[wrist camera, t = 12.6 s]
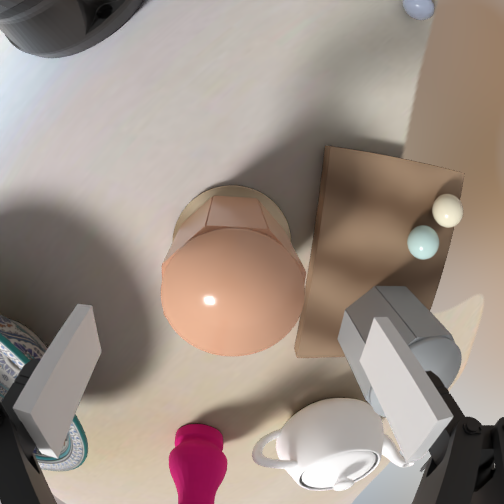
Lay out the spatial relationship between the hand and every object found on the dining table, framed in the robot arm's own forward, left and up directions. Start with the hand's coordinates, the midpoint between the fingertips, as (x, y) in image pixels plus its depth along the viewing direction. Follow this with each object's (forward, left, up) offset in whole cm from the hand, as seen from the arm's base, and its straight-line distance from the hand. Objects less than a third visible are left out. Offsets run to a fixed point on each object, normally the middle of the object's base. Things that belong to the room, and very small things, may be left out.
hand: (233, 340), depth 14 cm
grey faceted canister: (+8, +15, -13) cm, 21 cm away
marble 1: (-23, +15, -14) cm, 31 cm away
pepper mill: (+28, -3, -15) cm, 31 cm away
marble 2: (-2, +15, -12) cm, 20 cm away
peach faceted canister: (+1, 0, -14) cm, 14 cm away
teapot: (+25, +14, -15) cm, 32 cm away
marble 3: (-5, +17, -12) cm, 21 cm away
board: (+2, +14, -14) cm, 20 cm away
